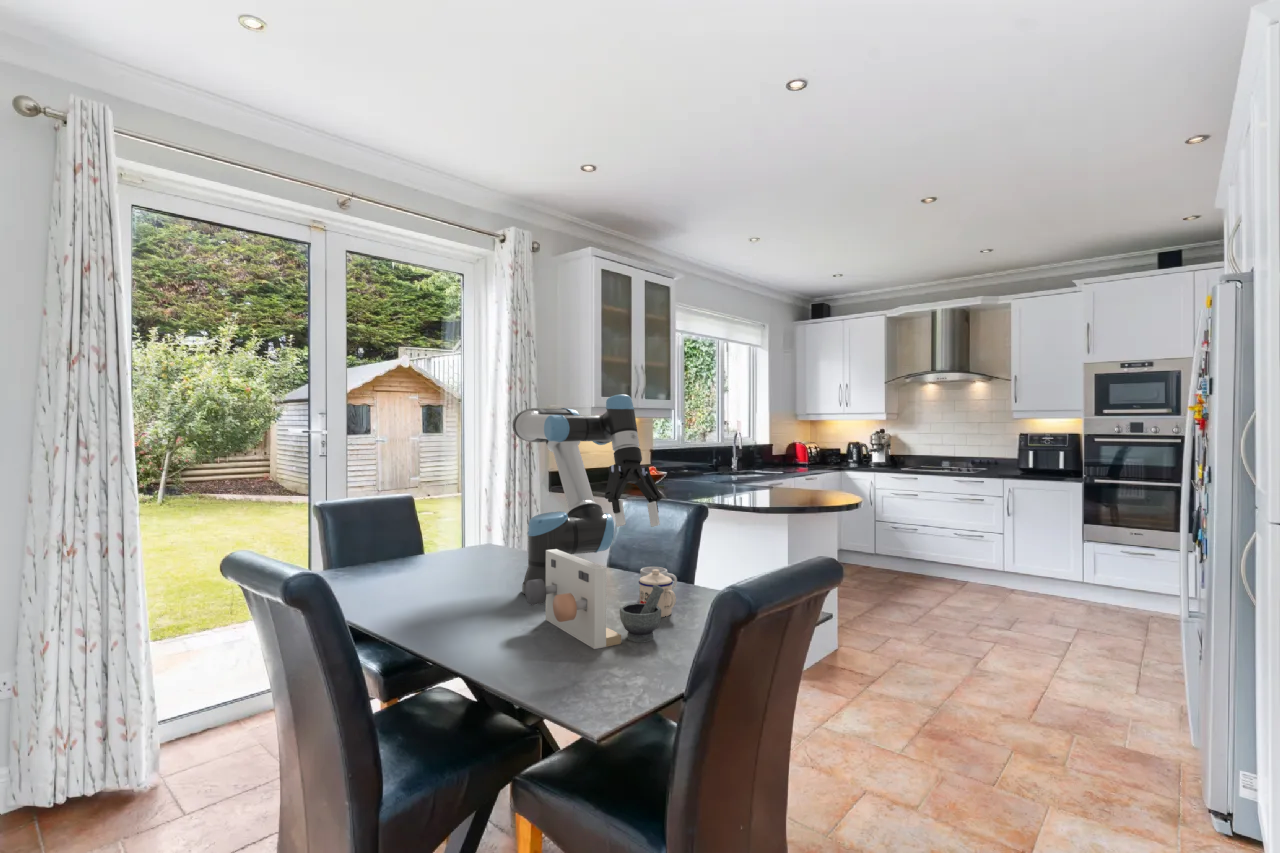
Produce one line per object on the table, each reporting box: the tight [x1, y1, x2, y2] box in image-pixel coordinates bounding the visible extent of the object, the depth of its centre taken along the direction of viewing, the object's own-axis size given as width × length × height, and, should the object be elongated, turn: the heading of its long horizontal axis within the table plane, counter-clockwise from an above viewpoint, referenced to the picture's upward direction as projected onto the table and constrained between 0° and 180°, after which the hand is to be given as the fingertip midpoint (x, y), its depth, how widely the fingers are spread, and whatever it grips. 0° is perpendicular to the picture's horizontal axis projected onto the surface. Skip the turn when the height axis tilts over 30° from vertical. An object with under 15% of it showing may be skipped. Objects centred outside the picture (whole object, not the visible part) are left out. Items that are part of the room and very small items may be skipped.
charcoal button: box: [525, 579, 557, 606], centre depth 165 cm, size 10×6×6 cm, turn 123°
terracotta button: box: [553, 593, 587, 622], centre depth 151 cm, size 10×6×6 cm, turn 123°
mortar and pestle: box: [619, 585, 664, 643], centre depth 156 cm, size 11×9×12 cm
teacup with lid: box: [638, 569, 677, 618], centre depth 175 cm, size 12×9×12 cm
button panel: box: [545, 549, 622, 650], centre depth 161 cm, size 7×26×18 cm, turn 33°
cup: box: [639, 566, 678, 591], centre depth 192 cm, size 11×8×8 cm
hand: (638, 525), depth 175 cm, fingers open, 13 cm apart
